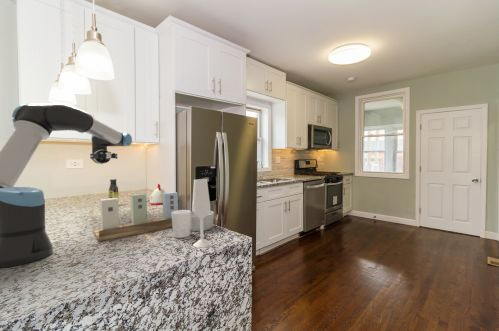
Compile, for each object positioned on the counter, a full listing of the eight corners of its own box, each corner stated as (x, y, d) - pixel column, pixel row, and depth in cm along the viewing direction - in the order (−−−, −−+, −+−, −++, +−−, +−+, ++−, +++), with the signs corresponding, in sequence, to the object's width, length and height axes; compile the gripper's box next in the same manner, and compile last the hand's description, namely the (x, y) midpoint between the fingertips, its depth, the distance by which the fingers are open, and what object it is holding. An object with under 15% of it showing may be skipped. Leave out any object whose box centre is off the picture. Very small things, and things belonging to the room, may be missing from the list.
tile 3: (163, 221, 117) (162, 193, 117) (175, 219, 121) (174, 191, 121) (166, 223, 114) (165, 193, 114) (178, 220, 118) (177, 192, 117)
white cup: (195, 235, 100) (194, 211, 100) (178, 239, 94) (177, 214, 94) (185, 231, 105) (184, 209, 105) (168, 236, 100) (167, 212, 99)
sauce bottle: (107, 206, 175) (106, 179, 174) (116, 205, 179) (116, 178, 179) (110, 207, 170) (109, 179, 170) (120, 205, 175) (119, 178, 174)
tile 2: (131, 224, 113) (130, 194, 113) (144, 221, 117) (144, 193, 117) (133, 225, 110) (132, 195, 110) (147, 223, 114) (146, 194, 114)
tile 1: (101, 232, 101) (100, 199, 100) (117, 229, 104) (116, 197, 104) (103, 234, 97) (101, 200, 97) (119, 231, 101) (118, 198, 101)
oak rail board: (93, 232, 107) (93, 223, 107) (172, 219, 130) (171, 211, 130) (98, 241, 95) (97, 231, 95) (184, 224, 117) (183, 216, 117)
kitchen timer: (150, 206, 171) (150, 185, 171) (148, 203, 183) (147, 184, 183) (170, 204, 178) (170, 184, 178) (167, 201, 190) (166, 182, 190)
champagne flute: (205, 239, 93) (203, 178, 93) (215, 244, 88) (213, 179, 88) (189, 244, 89) (187, 179, 88) (199, 248, 84) (197, 180, 83)
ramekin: (179, 229, 109) (178, 214, 109) (200, 223, 120) (199, 209, 120) (200, 234, 102) (199, 217, 101) (220, 226, 113) (220, 211, 112)
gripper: (115, 163, 138) (124, 162, 120) (88, 163, 130) (93, 163, 112) (115, 150, 138) (123, 147, 120) (88, 149, 130) (93, 147, 112)
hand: (109, 155), depth 116 cm, fingers closed
